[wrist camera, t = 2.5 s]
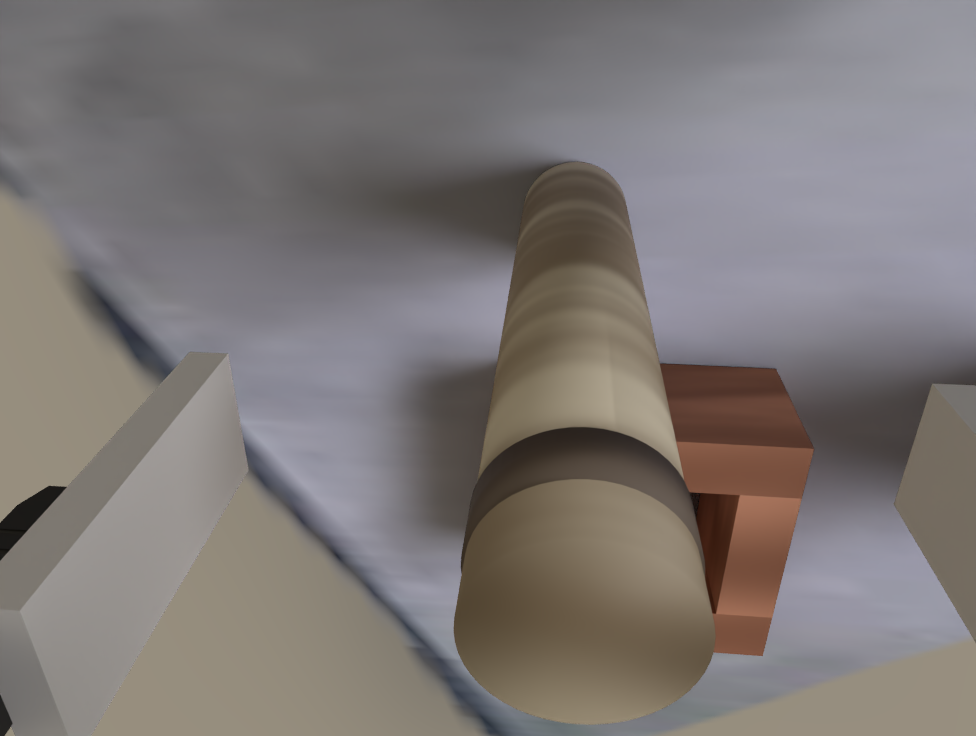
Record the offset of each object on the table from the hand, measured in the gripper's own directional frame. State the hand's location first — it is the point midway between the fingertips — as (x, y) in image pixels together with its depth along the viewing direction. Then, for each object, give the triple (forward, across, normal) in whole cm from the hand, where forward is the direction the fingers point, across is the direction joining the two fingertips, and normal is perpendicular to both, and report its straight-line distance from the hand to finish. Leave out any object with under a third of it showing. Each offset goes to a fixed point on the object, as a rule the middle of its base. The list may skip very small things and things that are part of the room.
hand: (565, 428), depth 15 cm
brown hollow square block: (+13, +3, -10) cm, 16 cm away
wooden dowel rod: (+13, 0, 0) cm, 13 cm away
